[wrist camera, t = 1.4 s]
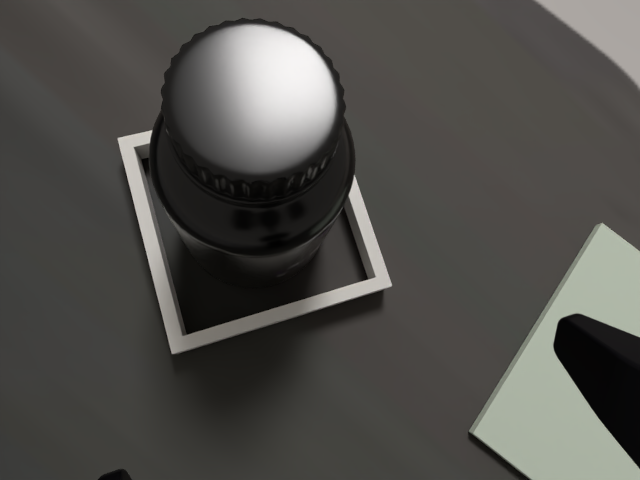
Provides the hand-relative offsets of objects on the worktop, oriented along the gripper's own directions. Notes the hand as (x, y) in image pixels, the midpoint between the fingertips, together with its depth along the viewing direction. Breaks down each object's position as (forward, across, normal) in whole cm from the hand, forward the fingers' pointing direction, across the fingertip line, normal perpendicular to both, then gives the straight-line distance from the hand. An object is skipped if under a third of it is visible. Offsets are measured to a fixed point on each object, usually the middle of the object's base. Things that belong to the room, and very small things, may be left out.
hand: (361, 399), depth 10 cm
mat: (+6, -15, +13) cm, 21 cm away
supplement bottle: (+15, 0, +4) cm, 16 cm away
